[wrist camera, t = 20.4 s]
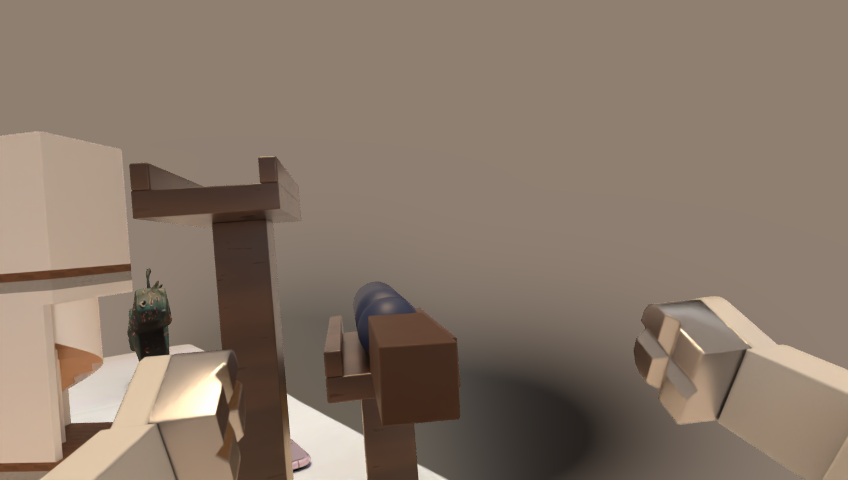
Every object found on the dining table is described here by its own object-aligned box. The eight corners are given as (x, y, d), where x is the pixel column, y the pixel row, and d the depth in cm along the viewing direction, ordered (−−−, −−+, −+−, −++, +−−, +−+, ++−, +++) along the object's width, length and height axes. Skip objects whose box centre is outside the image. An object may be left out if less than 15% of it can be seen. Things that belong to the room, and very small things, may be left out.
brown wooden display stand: (486, 687, 25) (443, 146, 25) (173, 754, 23) (125, 163, 23) (440, 544, 37) (411, 178, 37) (231, 579, 35) (200, 191, 34)
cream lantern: (67, 482, 52) (39, 131, 52) (-26, 483, 54) (-53, 142, 54) (144, 438, 63) (121, 149, 63) (65, 440, 65) (43, 157, 65)
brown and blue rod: (473, 431, 16) (469, 327, 16) (368, 441, 16) (364, 334, 16) (397, 322, 39) (395, 279, 39) (353, 325, 38) (352, 281, 38)
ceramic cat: (178, 394, 83) (168, 267, 83) (132, 403, 80) (121, 271, 80) (171, 371, 100) (162, 266, 100) (132, 377, 97) (123, 269, 97)
